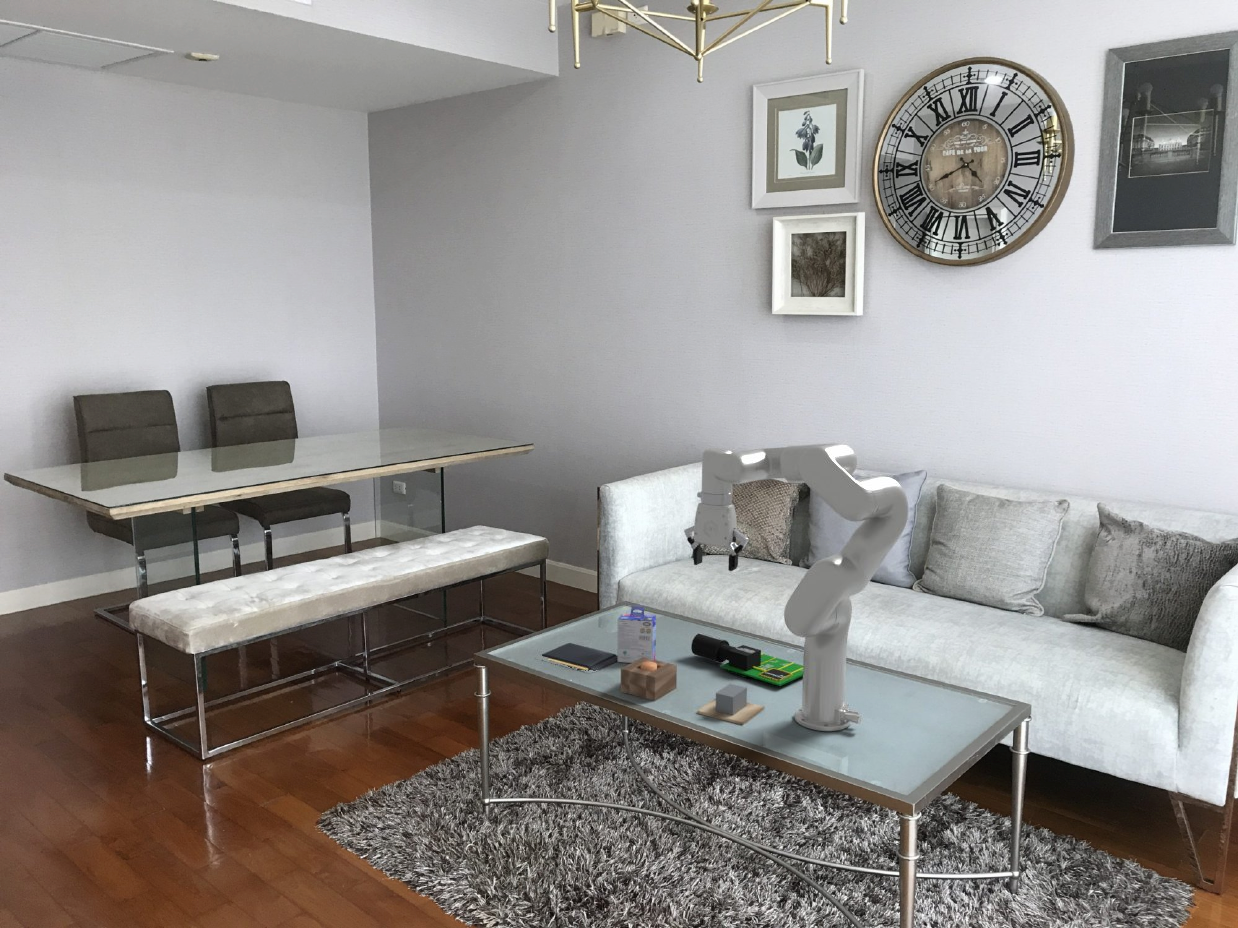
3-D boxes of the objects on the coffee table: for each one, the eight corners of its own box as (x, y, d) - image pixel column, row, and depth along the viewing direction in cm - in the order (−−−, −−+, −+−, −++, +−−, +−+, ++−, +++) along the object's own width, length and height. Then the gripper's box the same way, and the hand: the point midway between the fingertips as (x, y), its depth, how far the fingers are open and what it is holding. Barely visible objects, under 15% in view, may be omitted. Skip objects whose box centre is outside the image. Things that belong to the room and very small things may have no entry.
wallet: (625, 653, 266) (589, 670, 254) (625, 660, 266) (589, 677, 254) (569, 639, 278) (532, 653, 266) (569, 645, 278) (532, 660, 266)
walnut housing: (676, 687, 245) (676, 664, 244) (655, 700, 237) (655, 677, 236) (642, 679, 251) (643, 657, 250) (620, 691, 242) (620, 668, 242)
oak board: (764, 708, 232) (764, 706, 232) (742, 724, 223) (743, 722, 223) (719, 697, 239) (719, 695, 239) (697, 712, 230) (697, 710, 230)
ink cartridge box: (656, 658, 266) (657, 606, 264) (653, 665, 261) (653, 612, 259) (621, 655, 268) (621, 604, 266) (617, 662, 263) (617, 610, 261)
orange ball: (659, 679, 244) (660, 663, 243) (651, 683, 241) (651, 668, 240) (646, 675, 246) (646, 660, 245) (637, 680, 243) (637, 665, 242)
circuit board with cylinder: (814, 649, 253) (780, 664, 242) (813, 675, 254) (779, 690, 243) (723, 624, 273) (688, 636, 263) (723, 647, 274) (688, 661, 264)
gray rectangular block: (732, 715, 227) (733, 697, 226) (715, 711, 229) (715, 692, 228) (746, 705, 232) (746, 687, 232) (729, 701, 235) (729, 683, 234)
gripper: (678, 497, 242) (677, 564, 244) (741, 505, 232) (739, 575, 235) (693, 492, 248) (692, 558, 251) (755, 500, 238) (753, 568, 241)
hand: (715, 566), depth 243 cm, fingers open, 9 cm apart
